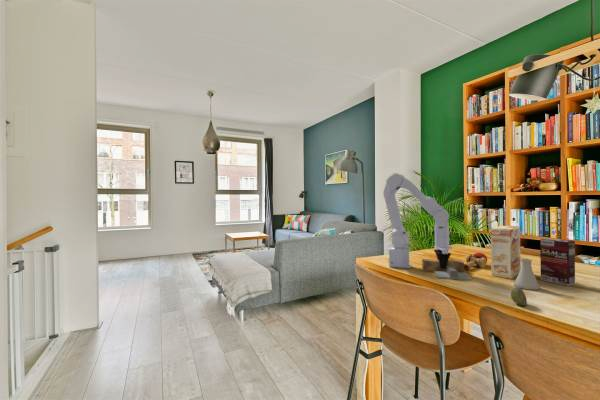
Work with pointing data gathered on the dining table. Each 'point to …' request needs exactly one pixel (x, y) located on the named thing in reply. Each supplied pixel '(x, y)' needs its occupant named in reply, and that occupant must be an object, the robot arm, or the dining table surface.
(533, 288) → the flask
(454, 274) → the fulcrum
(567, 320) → the dining table surface
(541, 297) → the dining table surface
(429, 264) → the beam
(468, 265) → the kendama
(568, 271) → the supplement box
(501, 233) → the coffeecake box
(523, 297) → the lime
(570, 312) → the dining table surface
